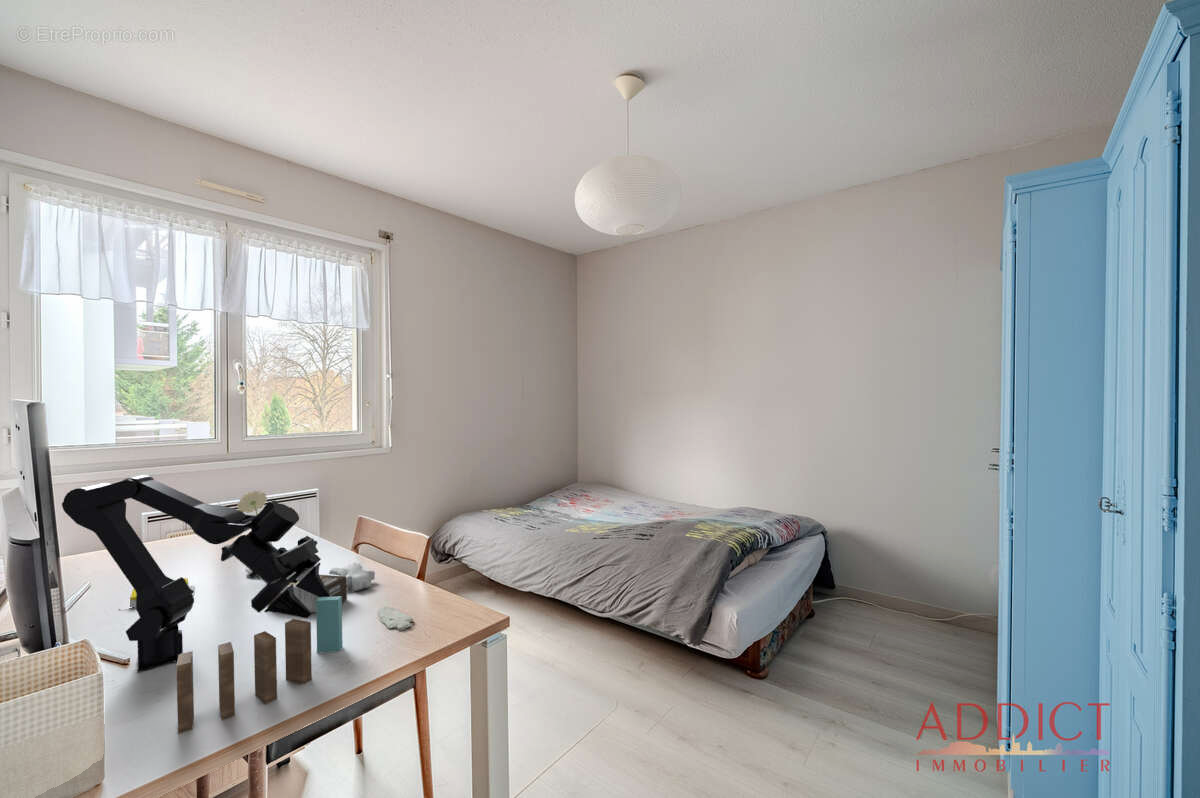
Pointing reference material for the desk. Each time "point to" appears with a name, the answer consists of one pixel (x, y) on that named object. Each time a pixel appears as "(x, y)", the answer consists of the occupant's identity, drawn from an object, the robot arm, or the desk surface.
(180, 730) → the domino
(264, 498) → the flower in vase
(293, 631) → the domino
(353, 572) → the bunny figurine
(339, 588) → the coffee box
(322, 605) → the teal domino
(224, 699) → the domino
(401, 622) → the stone tool
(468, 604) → the desk surface
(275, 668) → the domino
